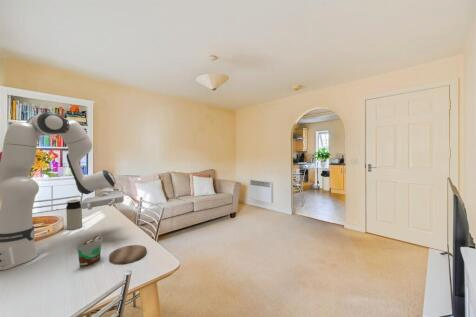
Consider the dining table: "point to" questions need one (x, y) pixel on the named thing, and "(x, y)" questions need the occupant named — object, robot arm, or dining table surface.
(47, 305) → the dining table surface
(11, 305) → the dining table surface
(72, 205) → the travel mug
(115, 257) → the walnut trivet
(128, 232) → the dining table surface
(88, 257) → the food container
